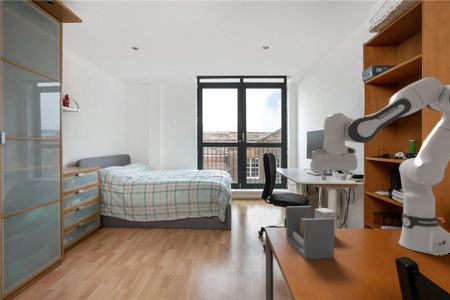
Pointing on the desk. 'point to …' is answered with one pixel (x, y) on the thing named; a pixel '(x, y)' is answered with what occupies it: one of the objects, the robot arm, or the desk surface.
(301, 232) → the door panel
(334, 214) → the supplement box
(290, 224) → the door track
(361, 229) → the desk surface
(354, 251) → the desk surface
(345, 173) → the robot arm
